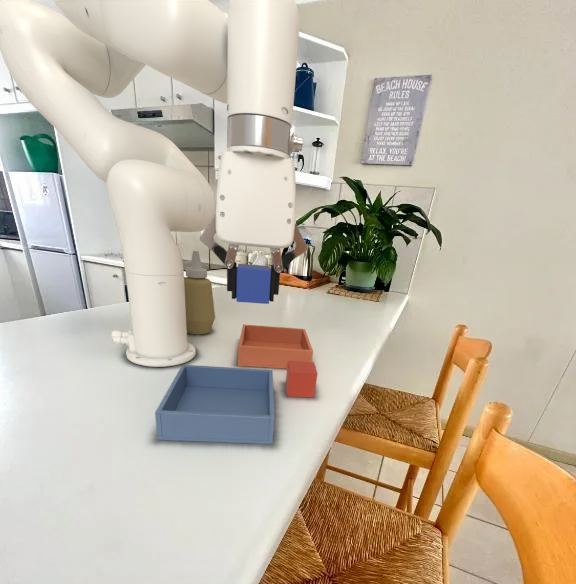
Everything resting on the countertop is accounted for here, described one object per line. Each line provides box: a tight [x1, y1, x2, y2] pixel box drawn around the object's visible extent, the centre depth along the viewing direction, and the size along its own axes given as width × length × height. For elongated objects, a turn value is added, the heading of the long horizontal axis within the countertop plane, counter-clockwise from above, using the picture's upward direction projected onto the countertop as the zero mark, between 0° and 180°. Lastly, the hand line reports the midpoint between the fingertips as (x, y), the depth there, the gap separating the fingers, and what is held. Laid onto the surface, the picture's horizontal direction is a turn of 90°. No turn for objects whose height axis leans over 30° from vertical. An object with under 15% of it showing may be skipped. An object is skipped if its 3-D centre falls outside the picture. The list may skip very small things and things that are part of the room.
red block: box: [285, 361, 318, 399], centre depth 54 cm, size 4×4×4 cm
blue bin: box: [154, 364, 276, 445], centre depth 46 cm, size 14×14×4 cm
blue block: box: [235, 263, 271, 305], centre depth 46 cm, size 4×4×4 cm
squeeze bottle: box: [184, 250, 216, 335], centre depth 74 cm, size 8×8×18 cm
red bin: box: [237, 324, 314, 370], centre depth 68 cm, size 14×14×4 cm
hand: (252, 296), depth 46 cm, fingers closed on blue block, 4 cm apart
